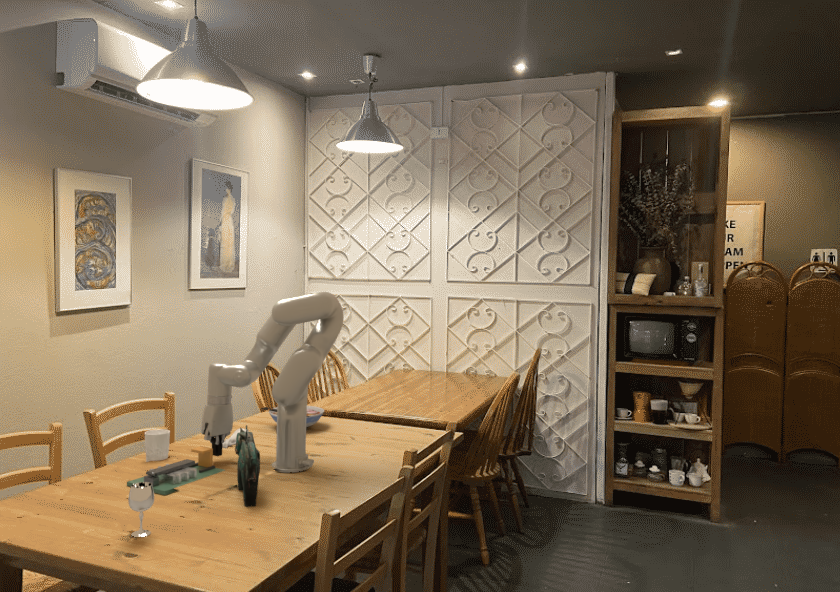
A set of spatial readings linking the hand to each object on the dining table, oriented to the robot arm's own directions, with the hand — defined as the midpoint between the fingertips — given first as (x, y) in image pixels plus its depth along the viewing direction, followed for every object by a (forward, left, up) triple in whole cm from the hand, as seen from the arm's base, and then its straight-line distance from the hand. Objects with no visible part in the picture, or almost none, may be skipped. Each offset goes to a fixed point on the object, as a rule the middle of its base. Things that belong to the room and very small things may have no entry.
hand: (216, 455), depth 213 cm
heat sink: (-1, +21, -2) cm, 21 cm away
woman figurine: (+16, -25, -4) cm, 30 cm away
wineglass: (-26, +51, -4) cm, 57 cm away
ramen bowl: (+11, -56, -4) cm, 58 cm away
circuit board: (-1, +17, -4) cm, 17 cm away
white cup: (+20, +7, -4) cm, 22 cm away
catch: (-1, +7, -2) cm, 7 cm away
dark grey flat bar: (-1, +19, 0) cm, 19 cm away
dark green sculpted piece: (-29, +17, -4) cm, 33 cm away
